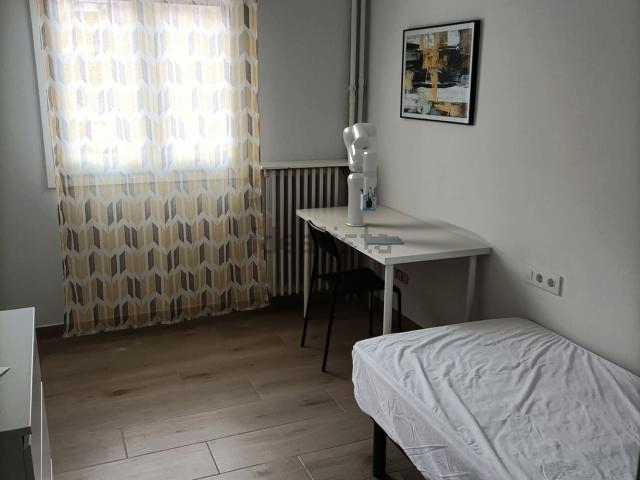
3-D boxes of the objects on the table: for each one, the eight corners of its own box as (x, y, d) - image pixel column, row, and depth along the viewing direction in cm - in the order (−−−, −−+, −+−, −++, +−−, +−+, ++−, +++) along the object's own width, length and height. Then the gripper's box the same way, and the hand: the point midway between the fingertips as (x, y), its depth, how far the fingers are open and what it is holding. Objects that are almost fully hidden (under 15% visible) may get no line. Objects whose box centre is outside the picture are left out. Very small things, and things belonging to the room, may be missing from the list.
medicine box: (362, 210, 331) (362, 195, 329) (360, 209, 335) (360, 193, 333) (376, 210, 332) (376, 195, 330) (374, 209, 336) (374, 193, 334)
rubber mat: (363, 237, 337) (363, 236, 337) (398, 237, 339) (398, 236, 338) (367, 244, 323) (367, 243, 322) (404, 244, 324) (404, 243, 324)
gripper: (361, 171, 337) (359, 203, 341) (364, 176, 320) (363, 209, 325) (374, 172, 337) (373, 204, 342) (378, 176, 321) (377, 209, 325)
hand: (368, 206), depth 333 cm, fingers closed on medicine box, 4 cm apart
